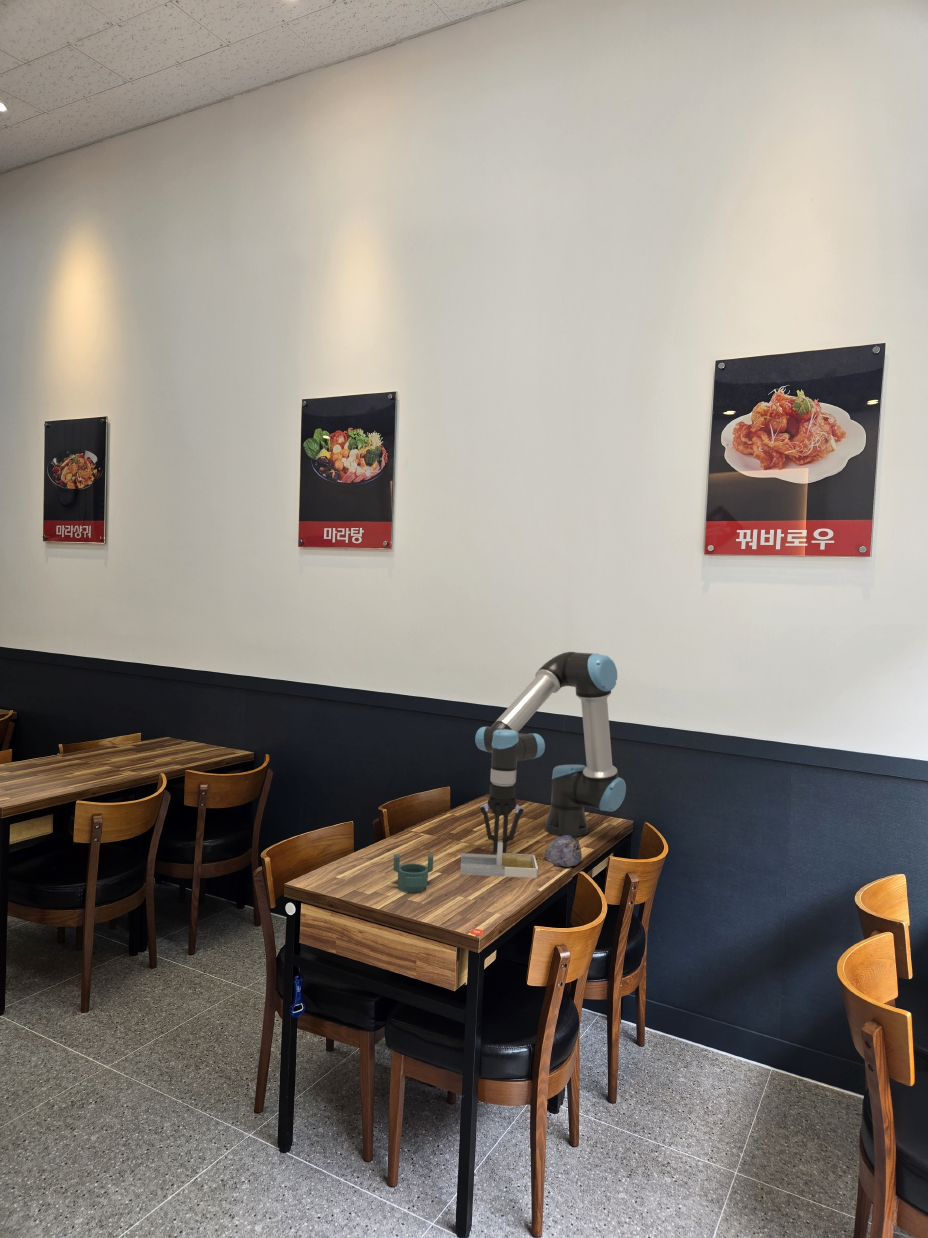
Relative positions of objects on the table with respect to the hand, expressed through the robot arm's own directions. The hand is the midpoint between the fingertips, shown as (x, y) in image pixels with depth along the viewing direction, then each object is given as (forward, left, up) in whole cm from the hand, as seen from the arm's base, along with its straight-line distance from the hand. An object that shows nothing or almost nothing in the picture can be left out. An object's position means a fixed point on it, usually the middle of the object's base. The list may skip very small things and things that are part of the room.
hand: (499, 863), depth 228 cm
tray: (-6, 0, -2) cm, 7 cm away
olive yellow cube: (-3, 0, -2) cm, 3 cm away
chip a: (-7, 0, -2) cm, 7 cm away
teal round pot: (+24, +16, -3) cm, 29 cm away
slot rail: (+5, 0, -3) cm, 6 cm away
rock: (-20, -11, -3) cm, 23 cm away
